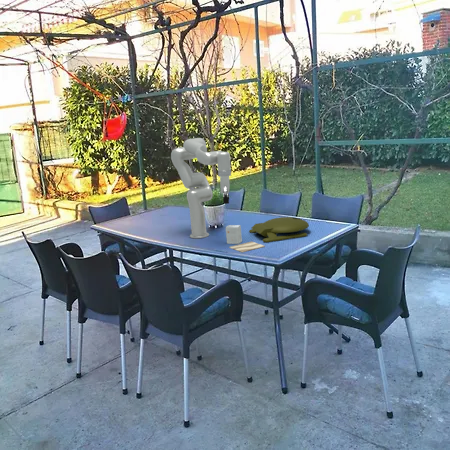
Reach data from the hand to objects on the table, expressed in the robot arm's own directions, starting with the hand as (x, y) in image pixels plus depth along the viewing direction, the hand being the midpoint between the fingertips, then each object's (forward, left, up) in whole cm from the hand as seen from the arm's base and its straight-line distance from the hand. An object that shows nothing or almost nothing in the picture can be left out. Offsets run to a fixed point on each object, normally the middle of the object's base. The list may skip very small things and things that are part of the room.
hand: (226, 201), depth 282 cm
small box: (0, +4, -26) cm, 26 cm away
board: (+14, +4, -26) cm, 30 cm away
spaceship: (+4, +37, -27) cm, 45 cm away
